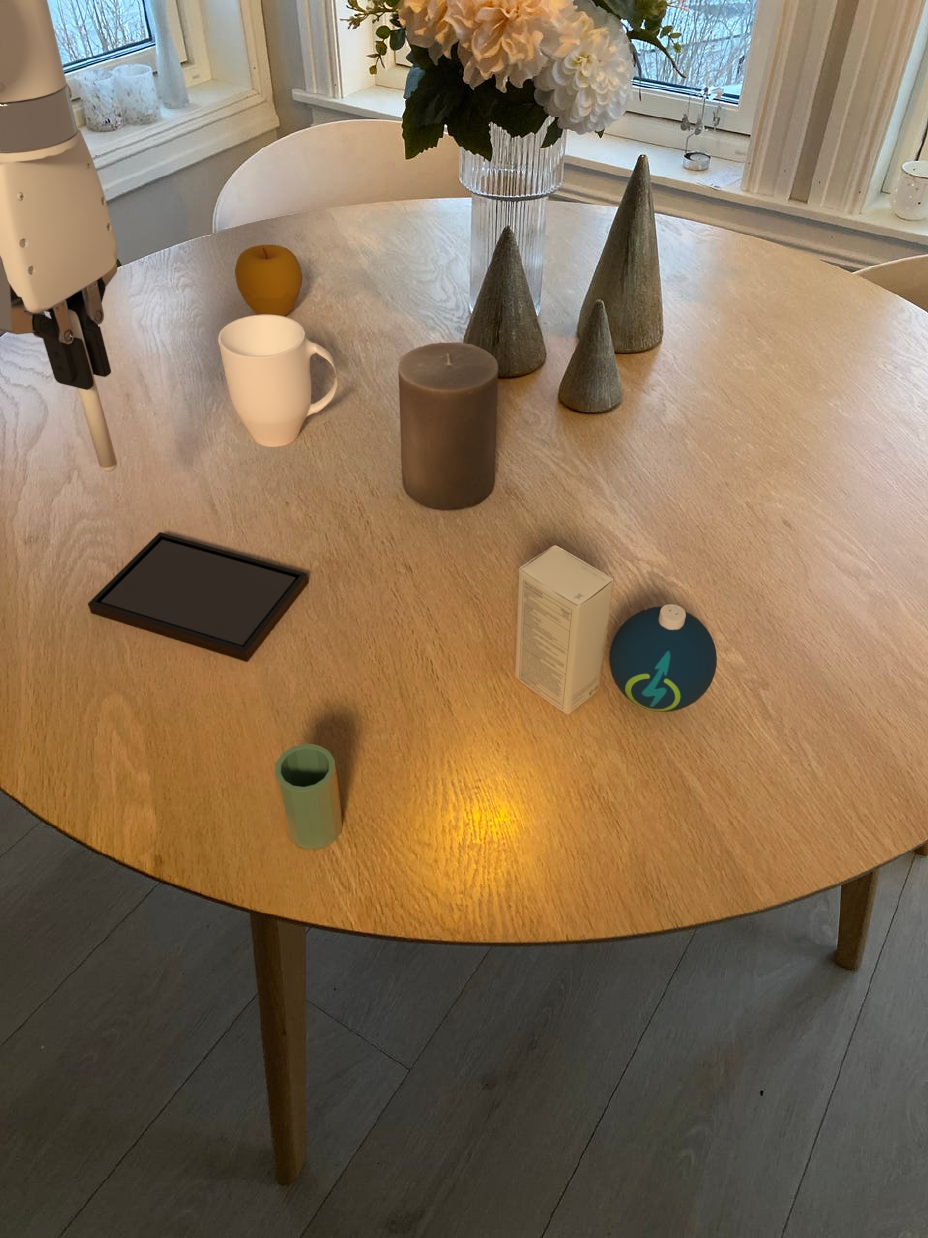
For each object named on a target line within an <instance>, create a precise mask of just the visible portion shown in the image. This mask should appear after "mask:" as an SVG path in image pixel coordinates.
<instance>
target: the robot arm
mask: <svg viewBox="0 0 928 1238" xmlns="http://www.w3.org/2000/svg"><path fill="white" fill-rule="evenodd" d="M72 96H73V94H72V89H71V87H70V86H69V84H68V83H67V79H66V75H65V71H64V66H63V62H62V57H61V53H60V49H59V45H58V40H57V35H56V32H55V28H54V23H53V19H52V14H51V11H50V7H49V1H48V0H0V331H1V332H5V333H9V334H13V335H18V336H19V335H25V334H26V335H27V334H33V336H34V337H35V338H38V339H42V340H43V344H44V348H45V351H46V354H47V358H48V361H49V365H50V368H51V370H52V371H51V372H52V374H53V378H54V380H55V381H56V383H58V384H61V385H65V386H69V387H72V388H77V389H78V388H81V389H85V390H89V389H90V388H91V387H93V385H94V380H93V377H92V373H91V369H90V365H89V362H88V358H87V354H86V351H85V347H84V343H83V341H82V339H80V338H76V337H74V330H73V327H72V324H71V321H70V318H69V315H68V311H67V309H70V310H72V311H74V312H75V313H76V314H77V316H78V319H79V322H80V326H81V330H82V333H83V337H84V341H85V345H86V348H87V352H88V356H89V360H90V363H91V367H92V371H93V374H94V376H97V377H103V378H107V377H108V376H109V375H111V374H112V368H111V364H110V360H109V357H108V353H107V348H106V345H105V340H104V337H103V333H102V328H101V326H99V325H101V324H102V323H103V321H104V318H105V313H104V310H103V309H104V308H103V301H104V296H105V293H106V289H107V288H106V287H108V285H109V284H110V282H111V281H112V279H114V277H115V275H116V274H117V273H118V267H119V266H118V263H117V262H118V249H117V241H116V236H115V232H114V226H113V223H112V219H111V214H110V210H109V207H108V204H107V200H106V196H105V192H104V190H103V189H104V188H103V186H102V183H101V180H100V177H99V174H98V171H97V168H96V165H95V162H94V159H93V157H92V154H91V152H90V150H89V147H88V145H87V143H86V140H85V138H84V136H83V133H82V131H81V130H80V129H79V128H78V125H77V121H76V116H75V113H74V108H73V103H72ZM45 312H46V313H49V316H50V317H49V316H47V315H46V313H45Z"/></svg>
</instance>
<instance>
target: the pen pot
mask: <svg viewBox="0 0 928 1238" xmlns="http://www.w3.org/2000/svg"><path fill="white" fill-rule="evenodd" d="M337 774H338V773H337V765H336V760H335V758H334V756H333V754H332V753H331V752H330V750H328V749H326V748H325V747H323V746H321V745H319V744H314V743H303V744H298V745H294V746H292V747H290V748H288V749H287V750H285V751H284V752H282V754H281V755H280V757H279V758H278V759H277V761H276V762H275V768H274V777H275V782H276V787H277V790H278V798H279V802H280V806H281V811H282V817H283V822H284V826H285V830H286V833H287V836H288V839H289V840H290V841H291V843H292V844H294V845H295V846H296V847H298V848H300V849H303V850H309V851H315V850H321V849H324V848H326V847H329V846H330V845H331V844H333V843H335V842H336V840H337V839H338V838H339V836H340V834H341V833H342V829H343V813H342V806H341V798H340V797H341V796H340V789H339V783H338V782H339V781H338V775H337Z"/></svg>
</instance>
